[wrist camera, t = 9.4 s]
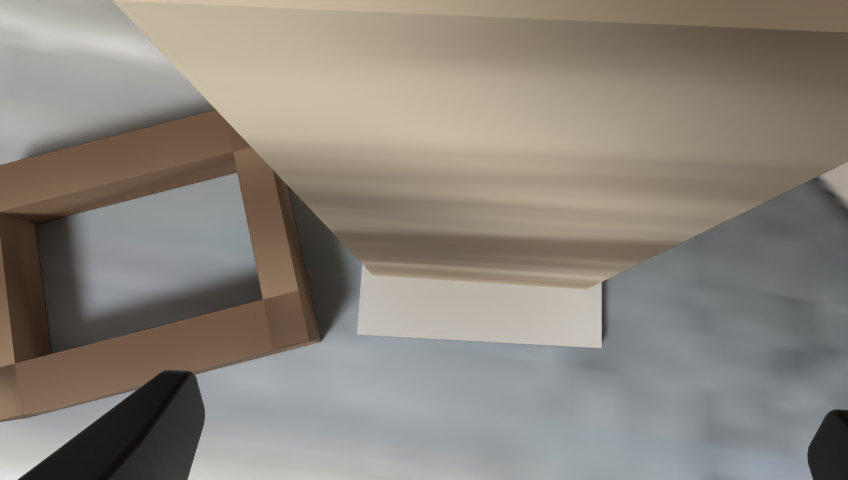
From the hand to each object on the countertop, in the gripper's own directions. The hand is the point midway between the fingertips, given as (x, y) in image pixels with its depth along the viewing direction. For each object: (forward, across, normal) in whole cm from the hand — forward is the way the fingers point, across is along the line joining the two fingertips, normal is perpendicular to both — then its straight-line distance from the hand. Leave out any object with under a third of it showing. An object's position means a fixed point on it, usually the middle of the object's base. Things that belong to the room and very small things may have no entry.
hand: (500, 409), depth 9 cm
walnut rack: (+8, +10, +4) cm, 14 cm away
